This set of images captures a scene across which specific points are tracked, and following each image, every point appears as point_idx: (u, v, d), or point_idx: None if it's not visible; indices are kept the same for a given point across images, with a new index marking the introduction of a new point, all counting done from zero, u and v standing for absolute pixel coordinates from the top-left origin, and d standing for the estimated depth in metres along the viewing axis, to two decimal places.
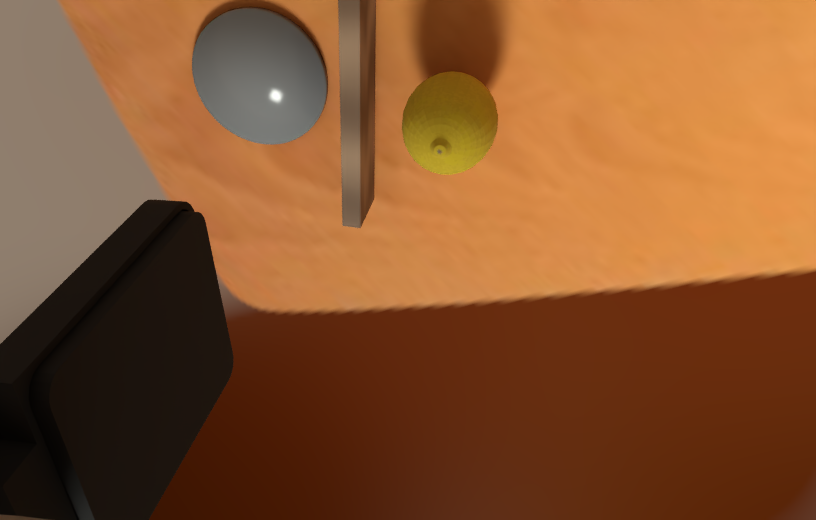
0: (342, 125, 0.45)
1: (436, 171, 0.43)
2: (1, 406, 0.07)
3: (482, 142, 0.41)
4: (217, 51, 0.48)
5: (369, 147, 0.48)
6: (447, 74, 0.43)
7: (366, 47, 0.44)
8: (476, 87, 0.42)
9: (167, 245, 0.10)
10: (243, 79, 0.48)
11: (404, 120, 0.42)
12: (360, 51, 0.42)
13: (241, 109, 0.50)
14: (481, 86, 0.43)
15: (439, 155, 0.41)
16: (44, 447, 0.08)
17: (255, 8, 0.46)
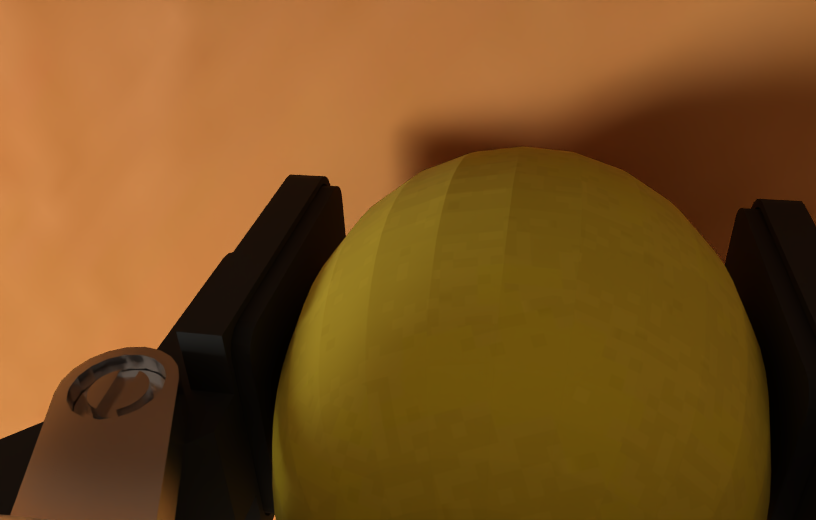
0: None
1: None
2: (206, 358, 0.08)
3: None
4: None
5: None
6: None
7: None
8: None
9: (318, 216, 0.10)
10: None
11: (583, 326, 0.06)
12: None
13: None
14: None
15: None
16: (238, 398, 0.08)
17: None
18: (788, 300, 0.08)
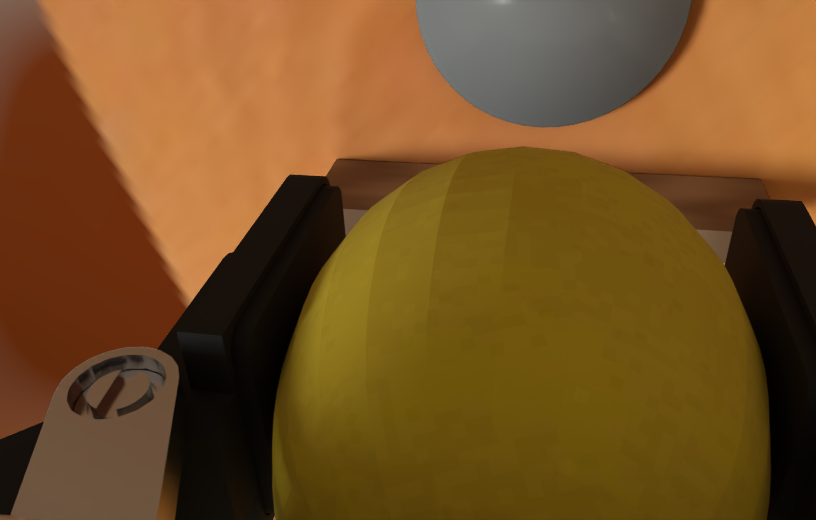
0: None
1: None
2: (207, 358, 0.08)
3: None
4: None
5: None
6: None
7: None
8: None
9: (318, 216, 0.10)
10: None
11: (583, 326, 0.06)
12: None
13: None
14: None
15: None
16: (238, 398, 0.08)
17: None
18: (788, 300, 0.08)
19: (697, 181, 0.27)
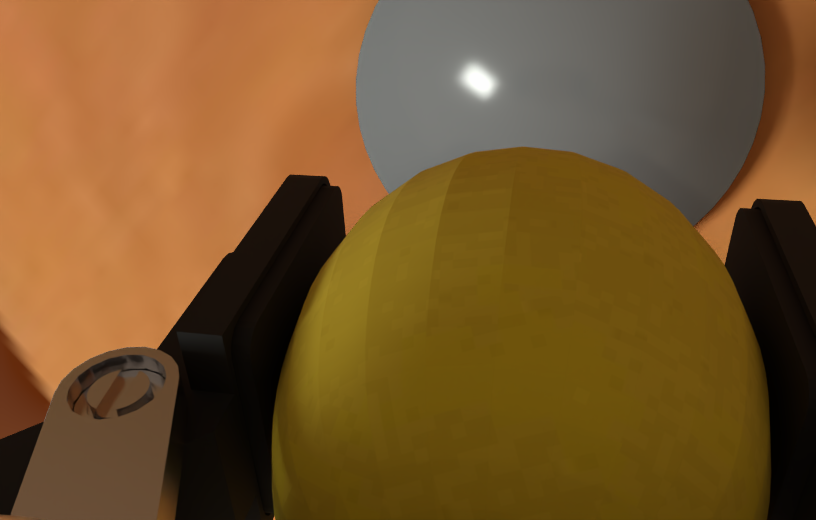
0: None
1: None
2: (207, 358, 0.08)
3: None
4: None
5: None
6: None
7: None
8: None
9: (318, 216, 0.10)
10: (549, 66, 0.16)
11: (583, 326, 0.06)
12: None
13: (455, 48, 0.17)
14: None
15: None
16: (239, 398, 0.08)
17: None
18: (788, 300, 0.08)
19: None
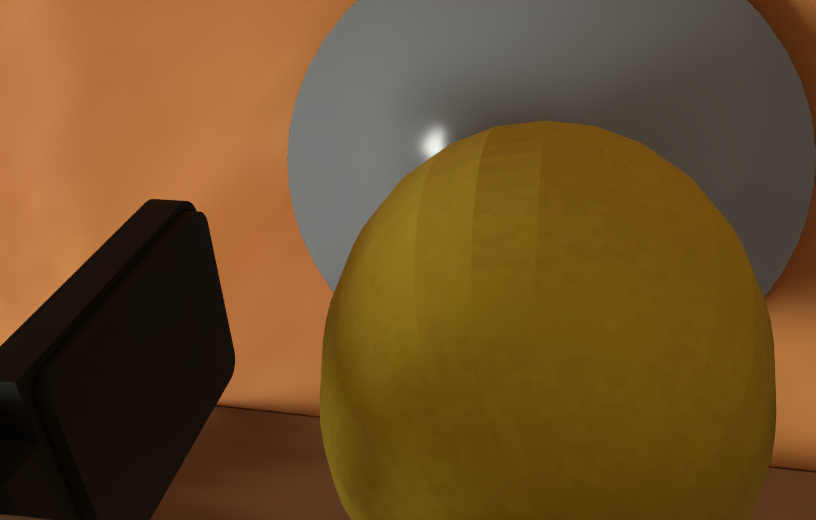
0: None
1: (349, 478, 0.08)
2: (4, 405, 0.07)
3: None
4: (648, 56, 0.11)
5: None
6: None
7: None
8: None
9: (169, 244, 0.10)
10: None
11: (611, 266, 0.07)
12: None
13: (411, 123, 0.13)
14: None
15: None
16: (47, 446, 0.08)
17: None
18: None
19: (794, 487, 0.16)
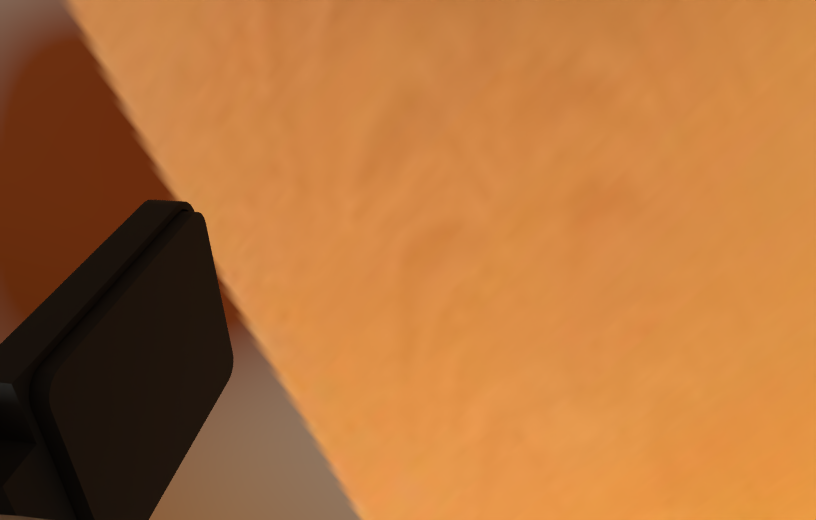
0: None
1: None
2: (1, 406, 0.07)
3: None
4: None
5: None
6: None
7: None
8: None
9: (167, 245, 0.10)
10: None
11: None
12: None
13: None
14: None
15: None
16: (44, 447, 0.08)
17: None
18: None
19: None
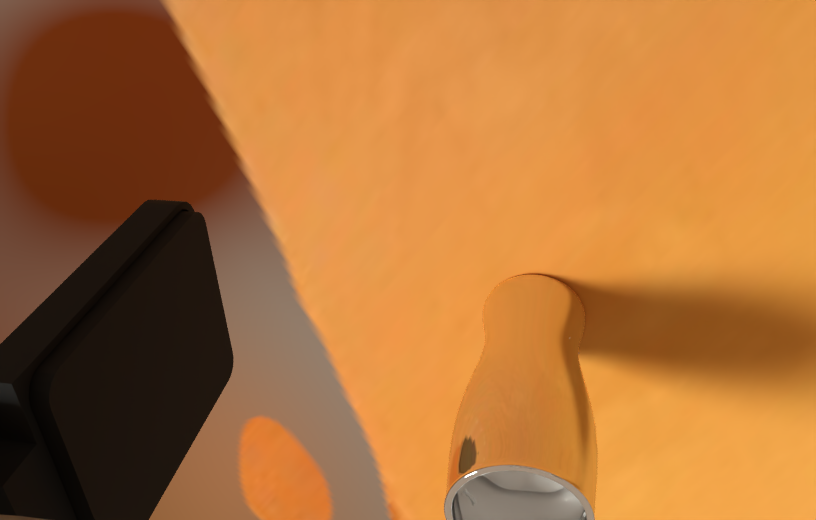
0: None
1: None
2: (1, 406, 0.07)
3: None
4: None
5: None
6: None
7: None
8: None
9: (167, 245, 0.10)
10: None
11: None
12: None
13: None
14: None
15: None
16: (44, 447, 0.08)
17: None
18: None
19: None
